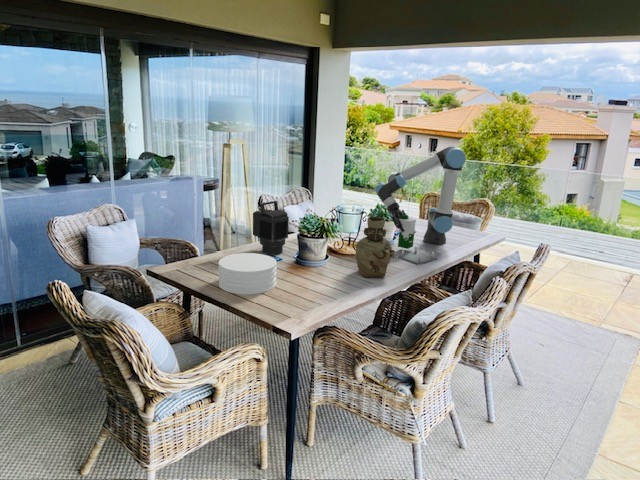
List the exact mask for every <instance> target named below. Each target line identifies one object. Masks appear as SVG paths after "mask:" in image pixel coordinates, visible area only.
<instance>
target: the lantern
mask: <svg viewBox="0 0 640 480" xmlns="http://www.w3.org/2000/svg"><path fill="white" fill-rule="evenodd" d="M272 204H273V208H274V209H273V210H271V209H267V208H266V209H265V206H267V205H272ZM257 209H258V210H256V211H253V213H252V235H253V236H254V237H257V238H258V239H259V244H260V245H262V246H261V247H262V248H261V252H262V253H263V255H267V256H278V255H281V254H283V251H284V250H283V248H284V247H283V246H285V245H286V239H288V238H289V218H290V217H289V216H288V212H286V211H285V210H281V209H279V204H278V201H277V200H272V201H267V202H262V203H260V204H259V206H258V207H257Z"/></svg>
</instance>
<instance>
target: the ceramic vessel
mask: <svg viewBox="0 0 640 480" xmlns="http://www.w3.org/2000/svg"><path fill="white" fill-rule="evenodd" d="M366 221H367V227H365V228H364V229H363V235H364V237H363V238H361V239H359V240H358V242H357V243H356V246H355V258H356V259H355V261H356V265H357V269H358V273H359V275H361V277H363V278H377V279H380V278H384V277H385V276H386V274H387V269H388V265H389V264H390V261H391V259H393V260H394V259H395V258H396V257H395V256H396V254H395V253H396V251H395V249H393V247H392V244H391V243H390V241H388V240H387V238H385V237H386V234H387V230H386V229H384V227H385V223H386V219H385V218H383V217H380V216H379V217H378V216H369V217H367V219H366Z"/></svg>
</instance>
